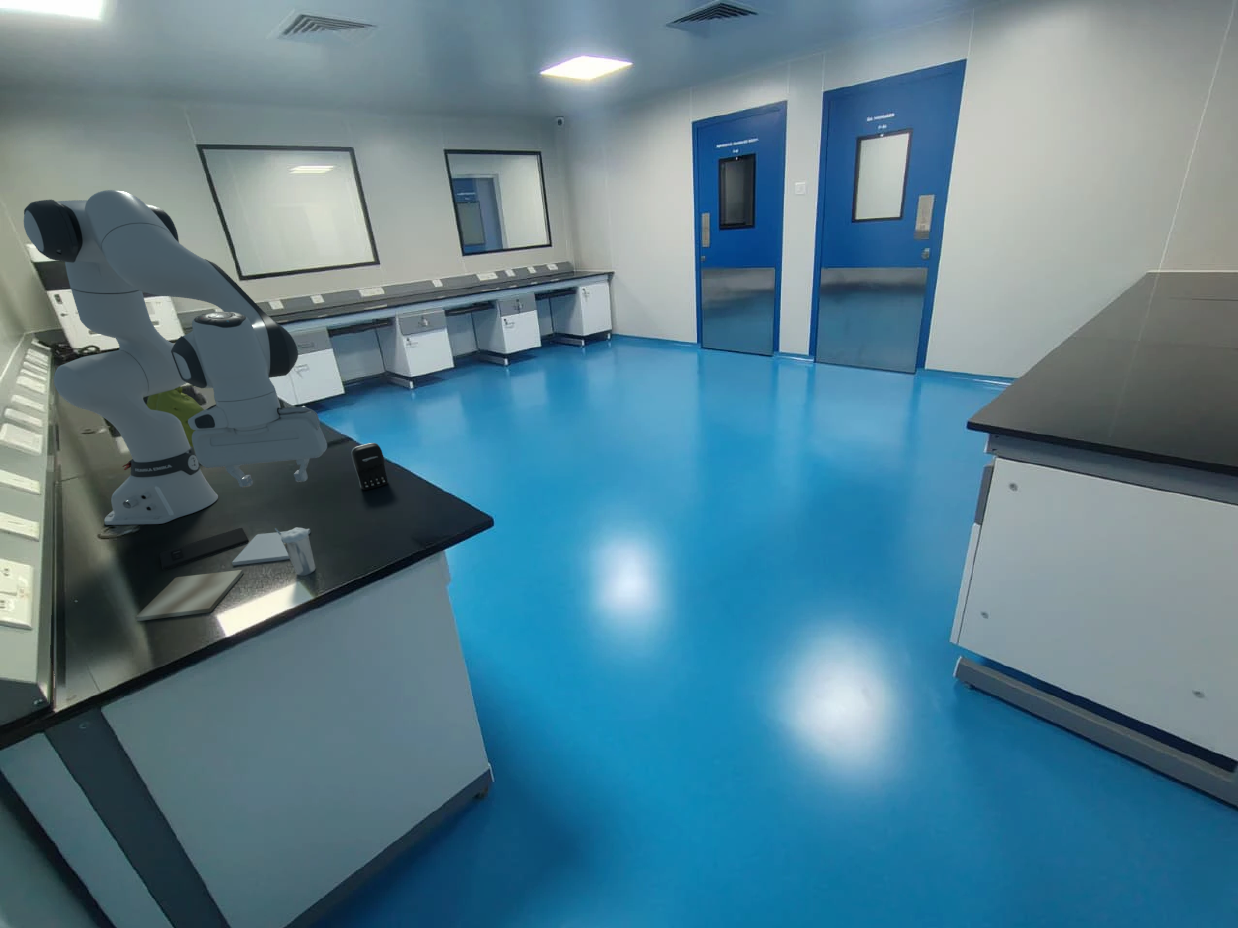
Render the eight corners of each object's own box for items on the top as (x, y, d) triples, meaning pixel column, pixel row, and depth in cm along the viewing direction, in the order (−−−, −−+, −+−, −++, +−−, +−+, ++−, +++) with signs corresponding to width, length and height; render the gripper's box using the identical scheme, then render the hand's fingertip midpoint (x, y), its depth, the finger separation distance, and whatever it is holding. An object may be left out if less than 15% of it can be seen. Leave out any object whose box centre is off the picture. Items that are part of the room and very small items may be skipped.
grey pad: (233, 565, 110) (232, 562, 109) (258, 537, 120) (257, 534, 119) (291, 558, 111) (289, 555, 111) (310, 531, 121) (309, 528, 121)
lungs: (233, 450, 172) (207, 375, 162) (174, 466, 161) (142, 387, 152) (209, 434, 187) (183, 365, 178) (153, 449, 177) (123, 376, 167)
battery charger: (363, 493, 138) (352, 451, 134) (359, 488, 141) (348, 447, 137) (391, 485, 142) (381, 444, 138) (387, 480, 145) (377, 440, 140)
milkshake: (295, 566, 108) (280, 522, 104) (323, 563, 109) (309, 519, 105) (284, 579, 104) (268, 534, 100) (313, 576, 105) (298, 531, 101)
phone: (248, 539, 118) (161, 567, 109) (250, 544, 118) (164, 572, 109) (241, 526, 123) (158, 552, 114) (243, 531, 124) (161, 557, 115)
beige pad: (136, 621, 95) (134, 617, 94) (177, 580, 106) (175, 577, 105) (211, 611, 96) (209, 608, 96) (243, 573, 107) (242, 569, 107)
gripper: (321, 400, 97) (340, 470, 103) (197, 410, 95) (224, 481, 101) (308, 410, 92) (329, 484, 97) (176, 421, 89) (205, 496, 95)
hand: (274, 483), depth 99 cm, fingers open, 8 cm apart
